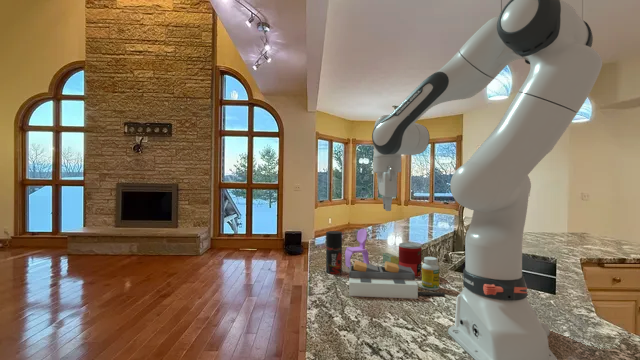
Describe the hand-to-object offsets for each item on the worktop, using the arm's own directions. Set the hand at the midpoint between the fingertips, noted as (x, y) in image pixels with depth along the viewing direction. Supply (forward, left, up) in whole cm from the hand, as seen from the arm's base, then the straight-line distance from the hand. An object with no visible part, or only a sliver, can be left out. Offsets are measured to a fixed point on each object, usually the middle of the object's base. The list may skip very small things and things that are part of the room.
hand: (387, 210), depth 101 cm
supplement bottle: (+2, -14, -25) cm, 29 cm away
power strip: (-2, -2, -25) cm, 25 cm away
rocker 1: (0, -3, -20) cm, 20 cm away
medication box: (+28, -5, -26) cm, 38 cm away
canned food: (+16, -10, -25) cm, 32 cm away
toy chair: (+24, +9, -25) cm, 36 cm away
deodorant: (+16, +18, -25) cm, 35 cm away
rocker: (0, +7, -20) cm, 21 cm away
